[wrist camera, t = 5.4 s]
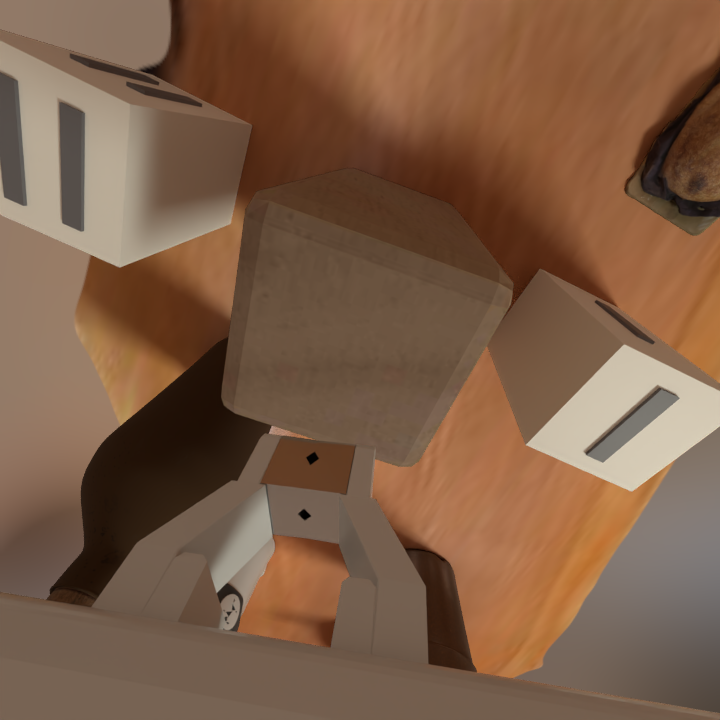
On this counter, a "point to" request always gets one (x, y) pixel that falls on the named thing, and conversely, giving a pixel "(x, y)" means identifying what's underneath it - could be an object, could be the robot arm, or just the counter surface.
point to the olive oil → (157, 472)
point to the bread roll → (685, 165)
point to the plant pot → (442, 613)
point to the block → (358, 312)
